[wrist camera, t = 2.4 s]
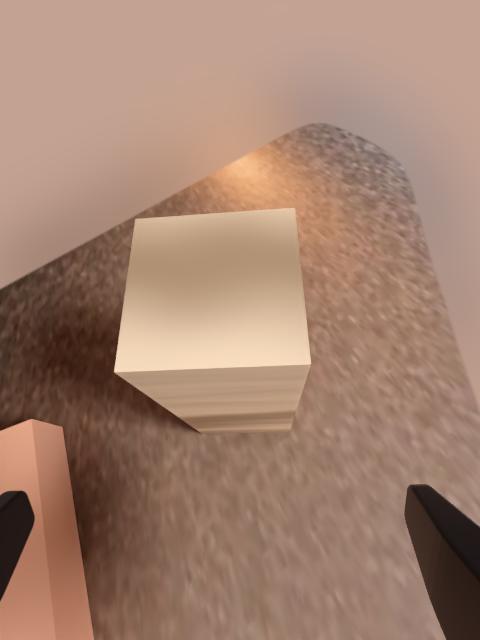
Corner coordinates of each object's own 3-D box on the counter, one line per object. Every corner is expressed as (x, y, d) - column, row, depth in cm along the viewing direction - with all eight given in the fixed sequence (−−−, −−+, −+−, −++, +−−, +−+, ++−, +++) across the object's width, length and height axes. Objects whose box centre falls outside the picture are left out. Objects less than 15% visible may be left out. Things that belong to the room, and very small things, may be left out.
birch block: (289, 431, 20) (311, 364, 9) (202, 434, 20) (114, 372, 9) (283, 348, 22) (294, 207, 11) (204, 352, 22) (135, 219, 11)
